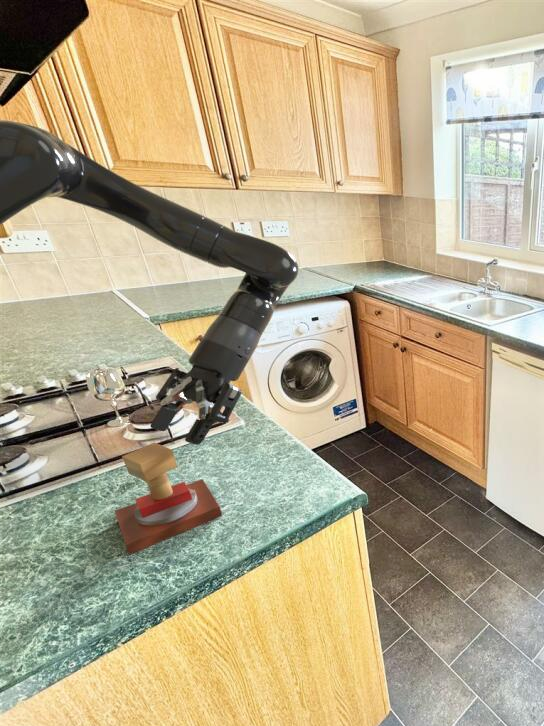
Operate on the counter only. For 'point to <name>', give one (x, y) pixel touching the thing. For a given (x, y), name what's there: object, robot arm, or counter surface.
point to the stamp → (158, 486)
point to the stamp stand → (147, 536)
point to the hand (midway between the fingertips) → (174, 436)
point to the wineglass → (107, 390)
